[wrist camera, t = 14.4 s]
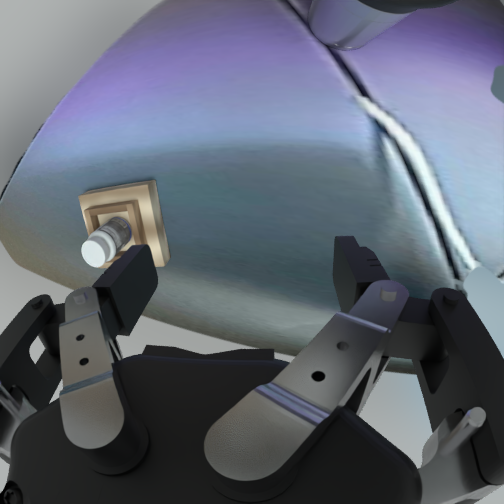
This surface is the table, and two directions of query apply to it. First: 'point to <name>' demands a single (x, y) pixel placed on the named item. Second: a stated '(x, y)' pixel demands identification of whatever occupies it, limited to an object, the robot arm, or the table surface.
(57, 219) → the table surface
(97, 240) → the pill bottle
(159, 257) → the wooden base
